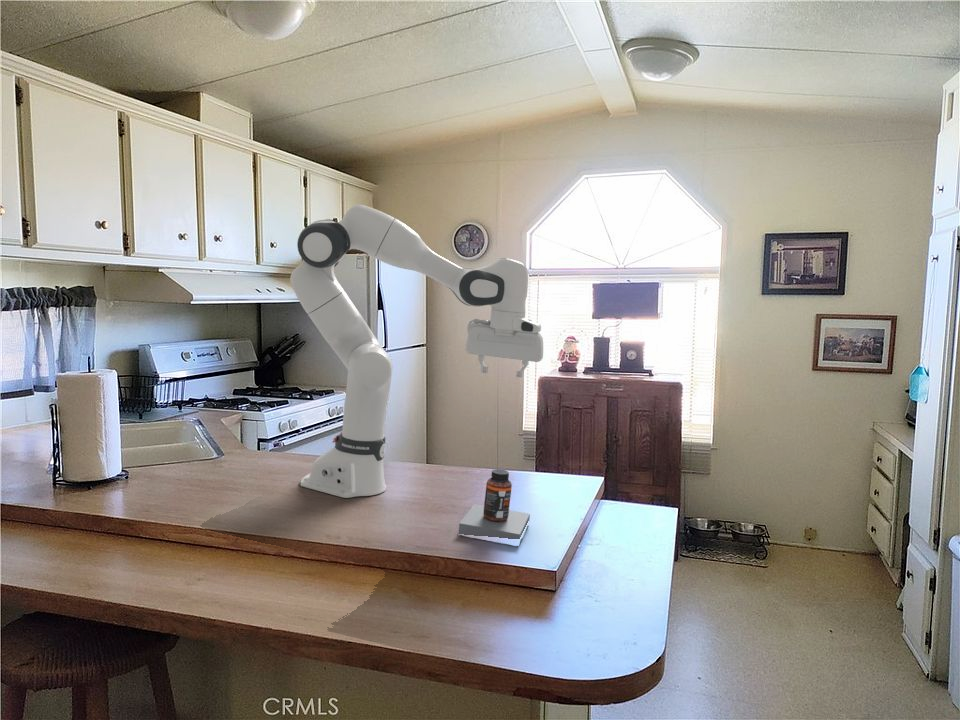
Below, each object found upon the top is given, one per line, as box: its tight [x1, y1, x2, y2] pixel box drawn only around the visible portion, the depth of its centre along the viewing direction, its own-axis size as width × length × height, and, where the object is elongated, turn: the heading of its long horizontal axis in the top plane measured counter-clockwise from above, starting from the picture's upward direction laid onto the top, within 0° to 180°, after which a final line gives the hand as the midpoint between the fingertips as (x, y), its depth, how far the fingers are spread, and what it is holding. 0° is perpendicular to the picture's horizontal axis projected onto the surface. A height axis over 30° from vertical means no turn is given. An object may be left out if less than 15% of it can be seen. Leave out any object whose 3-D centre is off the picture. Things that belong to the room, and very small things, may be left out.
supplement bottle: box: [483, 468, 513, 522], centre depth 150 cm, size 6×6×11 cm
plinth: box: [457, 503, 531, 539], centre depth 151 cm, size 14×14×3 cm
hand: (501, 374), depth 167 cm, fingers open, 8 cm apart
